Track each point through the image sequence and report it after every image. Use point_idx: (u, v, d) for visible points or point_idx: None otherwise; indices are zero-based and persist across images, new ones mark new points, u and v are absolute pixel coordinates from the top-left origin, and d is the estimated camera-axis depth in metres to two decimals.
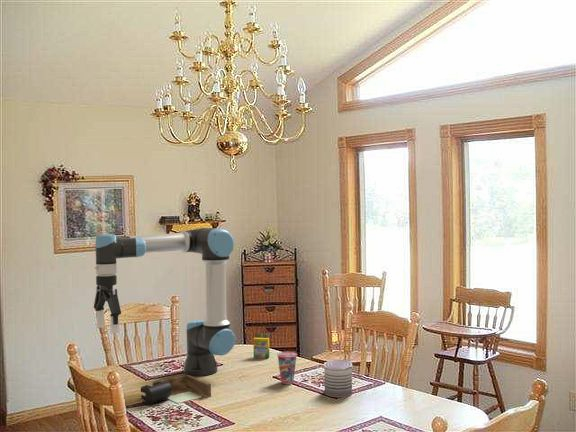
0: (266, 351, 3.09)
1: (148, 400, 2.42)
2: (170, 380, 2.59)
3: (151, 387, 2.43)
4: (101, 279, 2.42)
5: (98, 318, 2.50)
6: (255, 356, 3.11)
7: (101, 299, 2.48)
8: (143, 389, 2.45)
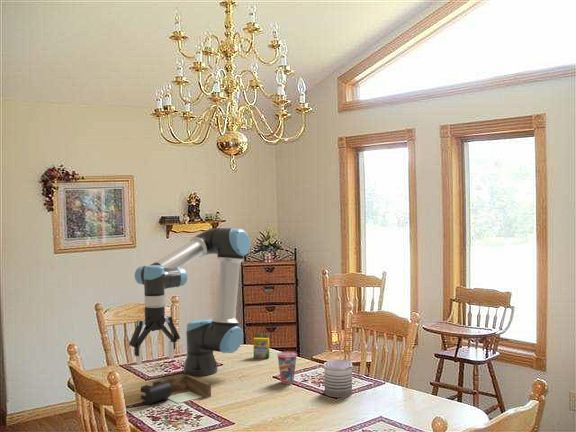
0: (266, 351, 3.09)
1: (148, 400, 2.42)
2: (170, 380, 2.59)
3: (151, 387, 2.43)
4: None
5: (169, 348, 2.51)
6: (255, 356, 3.11)
7: None
8: (143, 389, 2.45)
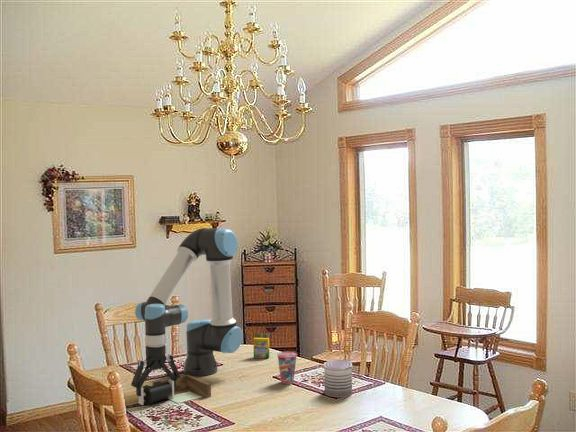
0: (266, 351, 3.09)
1: (148, 400, 2.42)
2: None
3: (151, 387, 2.43)
4: None
5: None
6: (255, 356, 3.11)
7: (162, 368, 2.49)
8: (143, 389, 2.45)
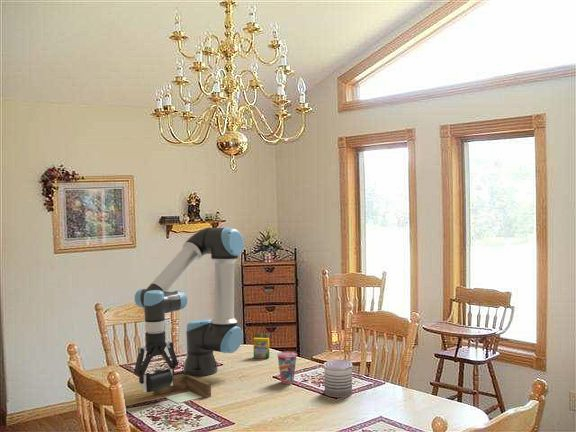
0: (266, 351, 3.09)
1: (149, 387, 2.42)
2: None
3: (152, 374, 2.44)
4: None
5: None
6: (255, 356, 3.11)
7: None
8: None
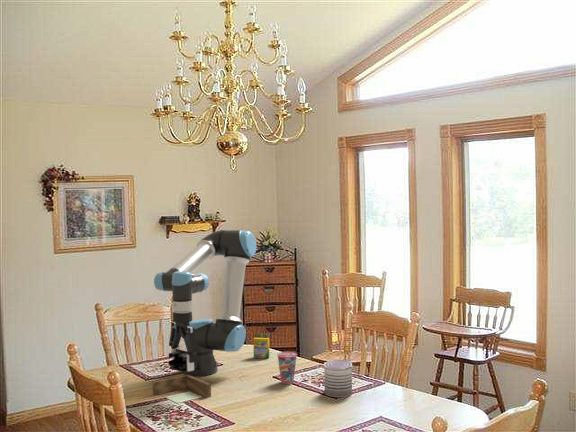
0: (266, 351, 3.09)
1: (194, 364, 2.49)
2: (170, 380, 2.59)
3: None
4: (178, 316, 2.47)
5: None
6: (255, 356, 3.11)
7: (177, 336, 2.53)
8: (186, 357, 2.47)
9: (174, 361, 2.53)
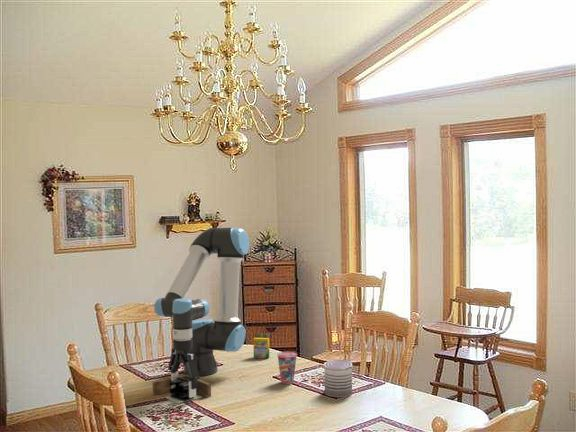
0: (266, 351, 3.09)
1: None
2: (170, 380, 2.59)
3: None
4: (179, 344, 2.47)
5: (173, 380, 2.56)
6: (255, 356, 3.11)
7: (177, 362, 2.53)
8: (187, 386, 2.47)
9: (175, 389, 2.54)
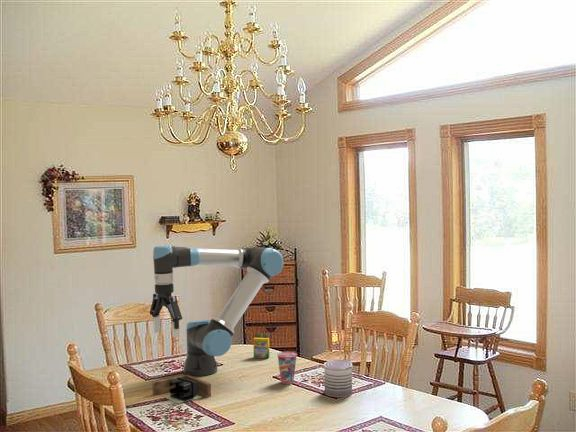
0: (266, 351, 3.09)
1: (195, 392, 2.50)
2: (170, 380, 2.59)
3: None
4: (161, 287, 2.61)
5: (155, 324, 2.69)
6: (255, 356, 3.11)
7: (159, 306, 2.67)
8: (187, 386, 2.47)
9: (175, 389, 2.54)
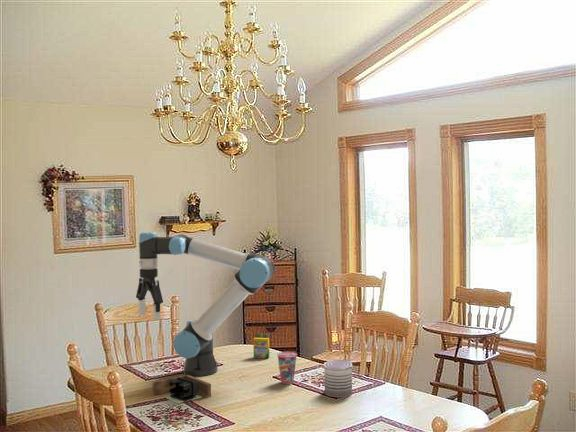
0: (266, 351, 3.09)
1: (195, 392, 2.50)
2: (170, 380, 2.59)
3: None
4: (145, 272, 2.73)
5: (140, 307, 2.82)
6: (255, 356, 3.11)
7: (143, 290, 2.79)
8: (187, 386, 2.47)
9: (175, 389, 2.54)
